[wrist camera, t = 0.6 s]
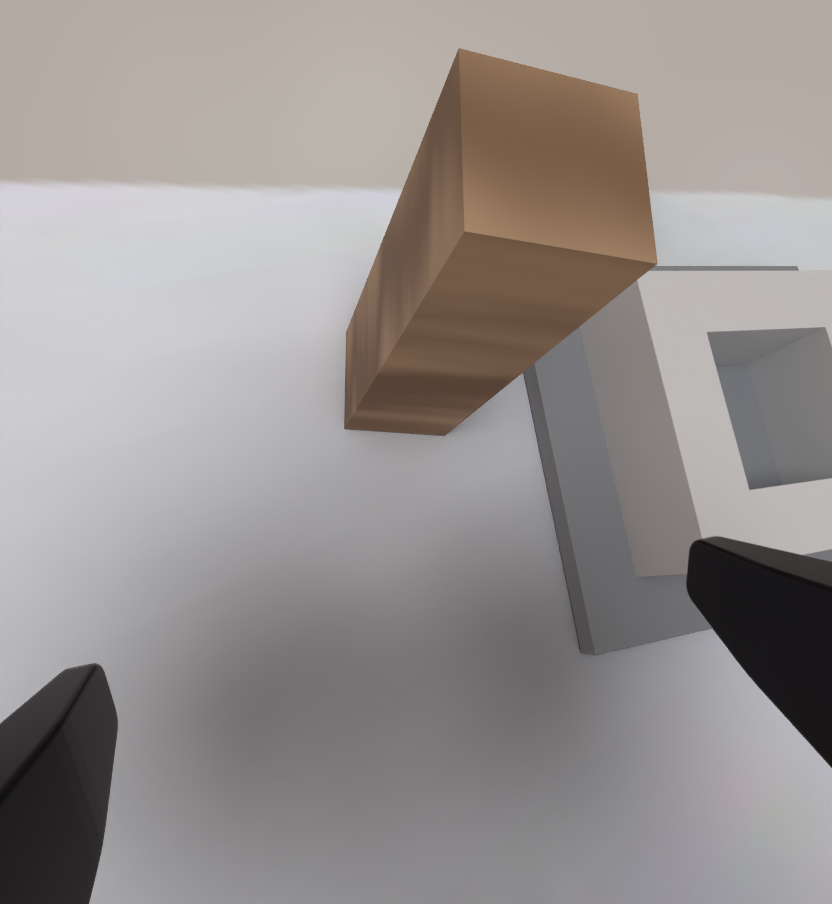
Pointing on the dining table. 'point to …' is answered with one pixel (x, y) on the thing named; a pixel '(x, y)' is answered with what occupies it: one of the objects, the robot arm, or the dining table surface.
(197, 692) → the dining table surface
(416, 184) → the walnut peg
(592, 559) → the socket board
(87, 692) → the robot arm
